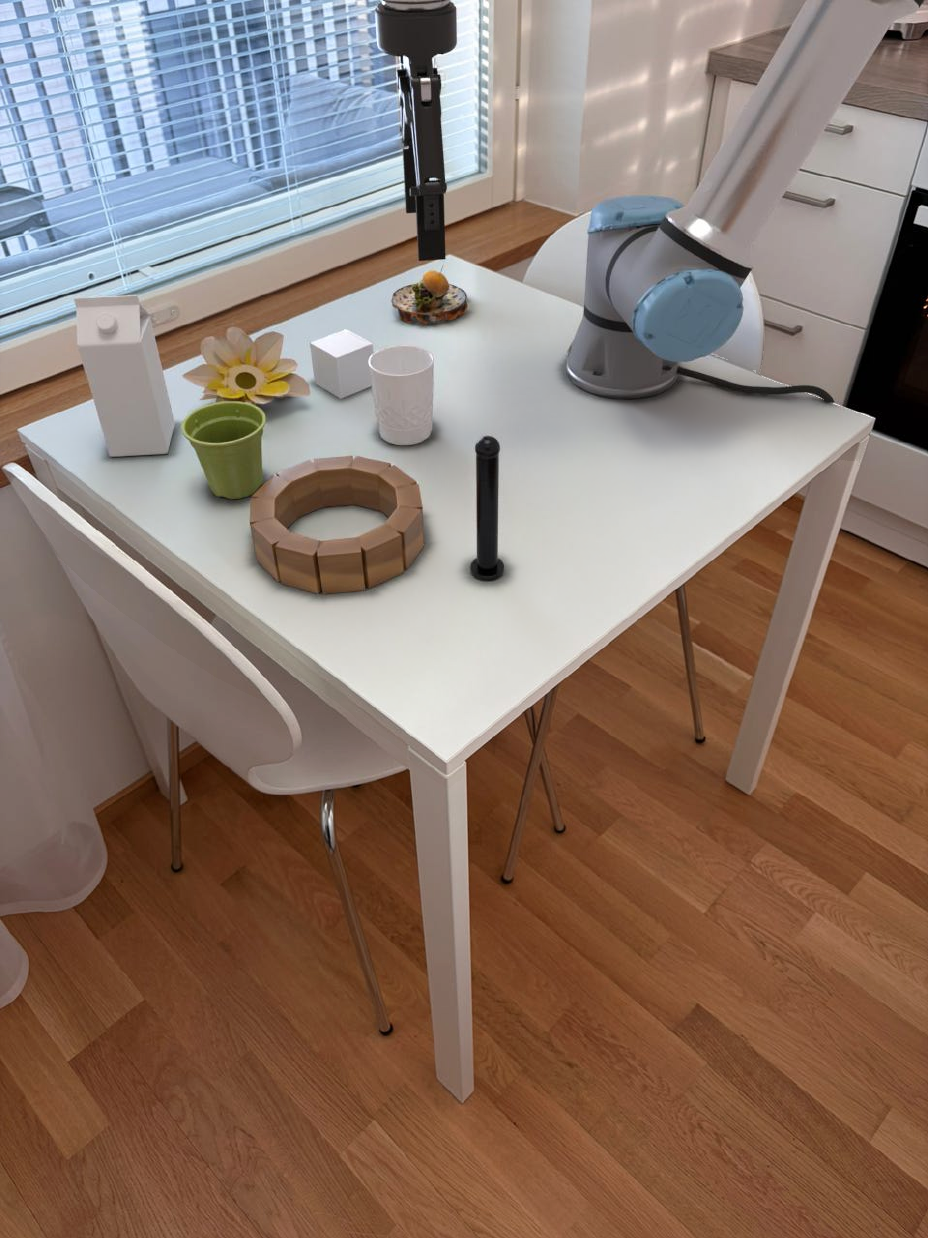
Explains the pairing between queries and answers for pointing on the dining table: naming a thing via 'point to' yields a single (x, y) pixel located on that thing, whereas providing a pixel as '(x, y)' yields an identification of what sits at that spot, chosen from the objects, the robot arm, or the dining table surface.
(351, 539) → the ring
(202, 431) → the plant pot
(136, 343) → the milk carton
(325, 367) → the white cube
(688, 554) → the dining table surface
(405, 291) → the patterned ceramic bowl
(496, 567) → the peg
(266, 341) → the decorative flower
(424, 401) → the white cup
